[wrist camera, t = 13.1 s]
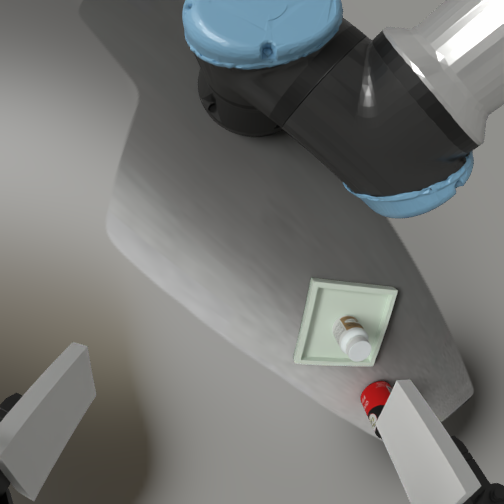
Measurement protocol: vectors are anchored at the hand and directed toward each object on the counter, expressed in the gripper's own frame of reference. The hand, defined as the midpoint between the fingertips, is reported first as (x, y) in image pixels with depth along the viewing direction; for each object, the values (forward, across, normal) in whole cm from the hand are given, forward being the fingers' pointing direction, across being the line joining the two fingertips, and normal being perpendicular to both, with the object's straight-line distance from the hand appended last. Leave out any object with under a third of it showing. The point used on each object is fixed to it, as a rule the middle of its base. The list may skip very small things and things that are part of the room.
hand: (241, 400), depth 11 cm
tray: (+32, +17, -11) cm, 38 cm away
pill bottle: (+31, +17, -11) cm, 37 cm away
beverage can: (+32, +28, -25) cm, 49 cm away
